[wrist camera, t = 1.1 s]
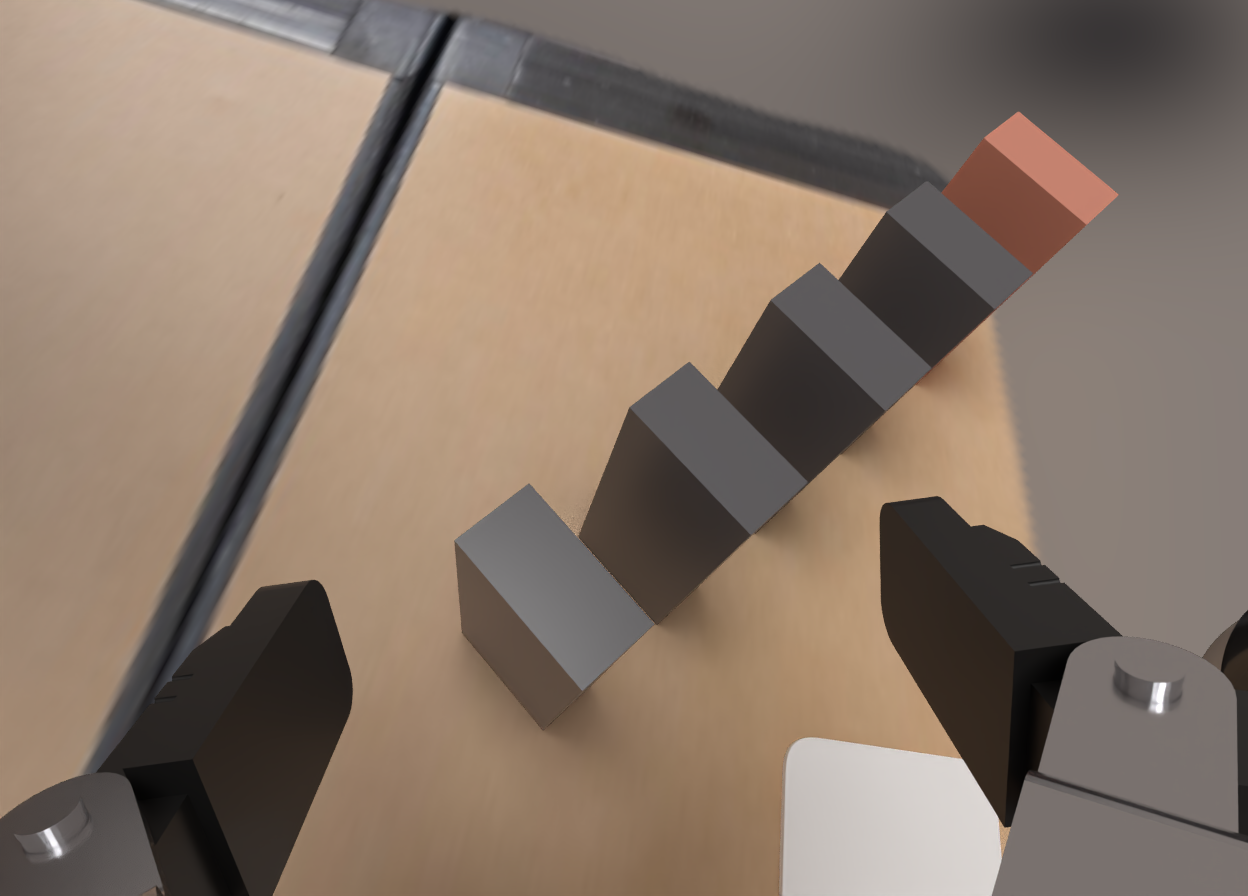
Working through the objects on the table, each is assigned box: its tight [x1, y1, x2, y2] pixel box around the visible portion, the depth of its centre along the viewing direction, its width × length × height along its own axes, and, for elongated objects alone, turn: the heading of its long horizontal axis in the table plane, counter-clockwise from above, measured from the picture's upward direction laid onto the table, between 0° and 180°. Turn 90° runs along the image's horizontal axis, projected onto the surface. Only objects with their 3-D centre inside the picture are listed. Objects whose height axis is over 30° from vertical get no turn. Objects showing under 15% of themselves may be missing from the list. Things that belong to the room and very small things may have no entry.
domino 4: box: [839, 181, 1033, 454], centre depth 27 cm, size 2×4×10 cm, turn 43°
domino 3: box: [718, 263, 931, 533], centre depth 25 cm, size 2×4×10 cm, turn 43°
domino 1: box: [454, 484, 654, 730], centre depth 21 cm, size 2×4×10 cm, turn 43°
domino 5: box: [916, 112, 1118, 384], centre depth 28 cm, size 2×4×10 cm, turn 43°
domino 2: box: [579, 362, 808, 624], centre depth 23 cm, size 2×4×10 cm, turn 43°
